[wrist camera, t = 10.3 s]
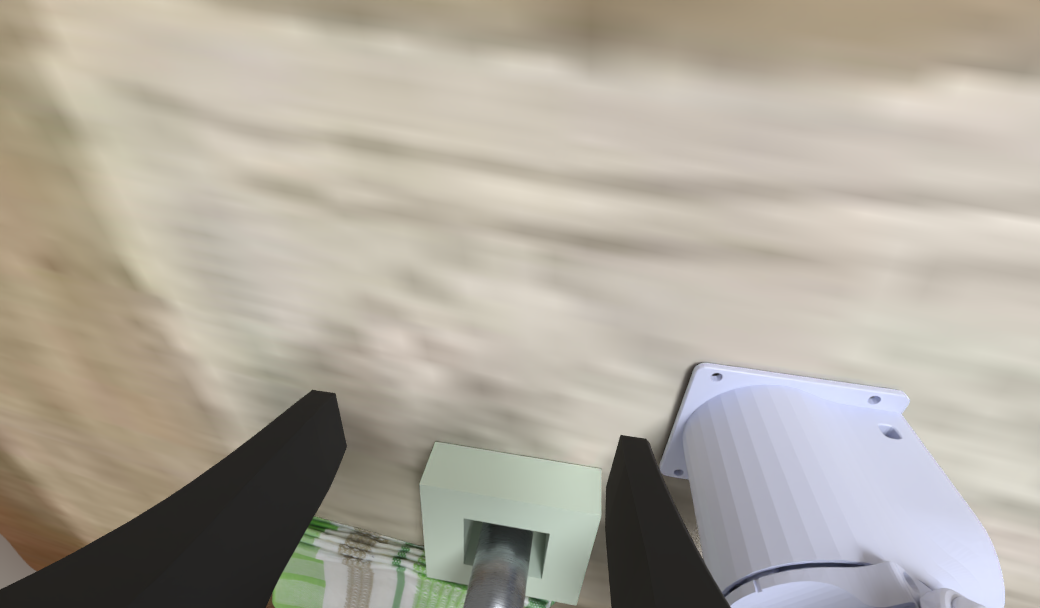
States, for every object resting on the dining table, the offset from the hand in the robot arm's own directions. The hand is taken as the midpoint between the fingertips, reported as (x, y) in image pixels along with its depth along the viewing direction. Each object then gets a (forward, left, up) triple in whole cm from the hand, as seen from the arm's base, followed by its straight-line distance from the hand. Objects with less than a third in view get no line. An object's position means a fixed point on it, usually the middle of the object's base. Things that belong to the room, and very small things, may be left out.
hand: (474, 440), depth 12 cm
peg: (0, +18, -10) cm, 21 cm away
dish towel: (+8, +33, -11) cm, 36 cm away
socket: (0, +18, -10) cm, 21 cm away
